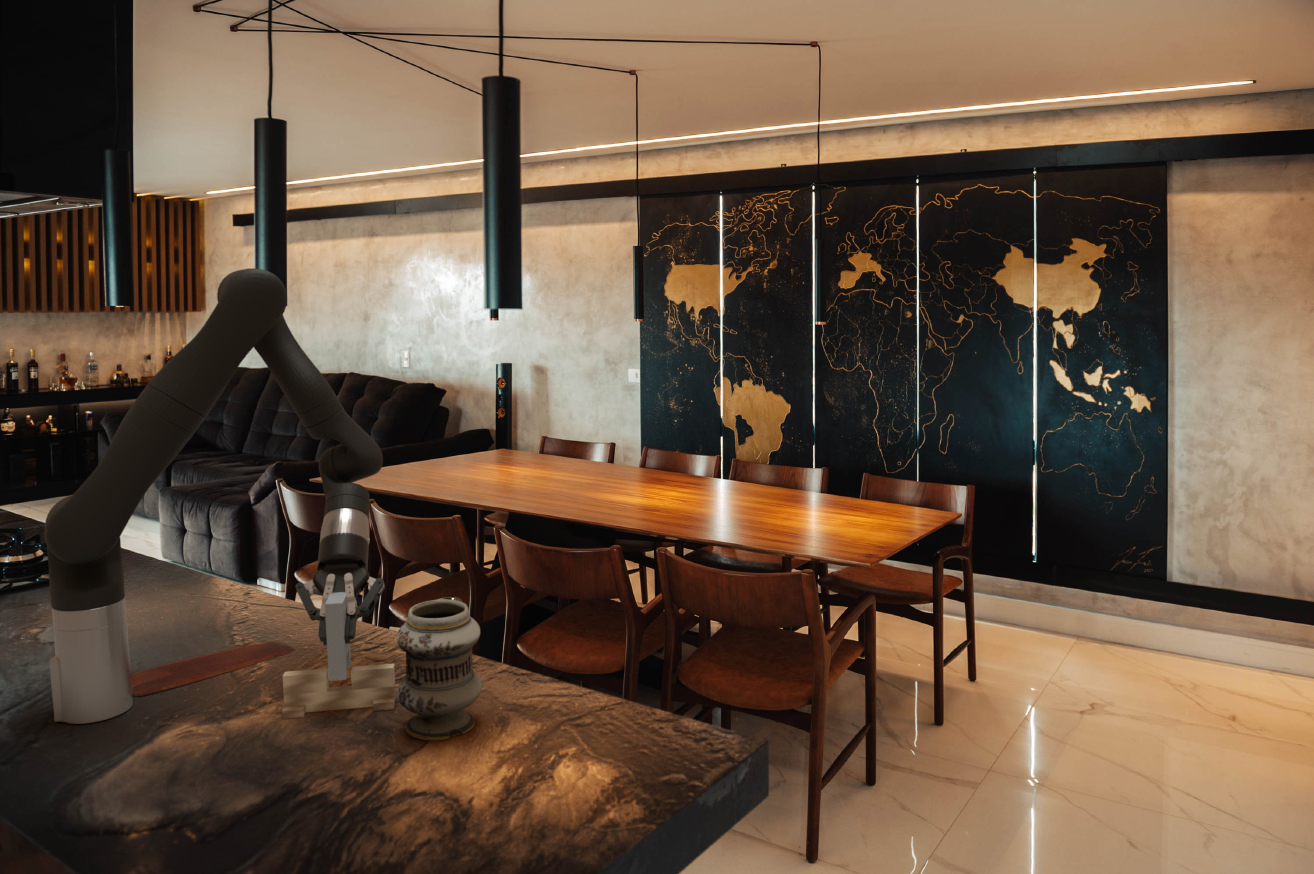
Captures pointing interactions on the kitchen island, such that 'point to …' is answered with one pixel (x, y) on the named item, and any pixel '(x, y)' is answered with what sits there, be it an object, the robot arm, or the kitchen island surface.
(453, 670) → the apothecary jar
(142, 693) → the wooden tablet
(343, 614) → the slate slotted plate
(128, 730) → the kitchen island surface
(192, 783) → the kitchen island surface
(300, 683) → the birch slotted board
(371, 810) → the kitchen island surface
